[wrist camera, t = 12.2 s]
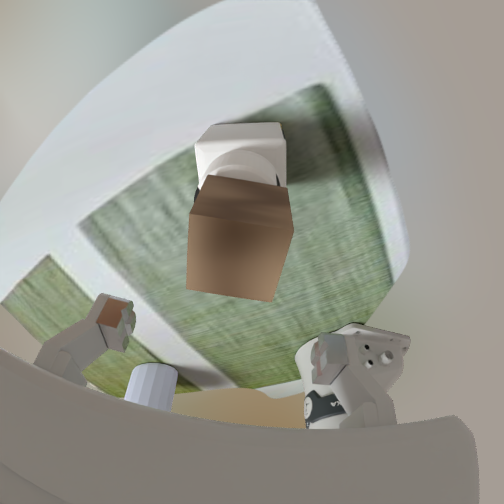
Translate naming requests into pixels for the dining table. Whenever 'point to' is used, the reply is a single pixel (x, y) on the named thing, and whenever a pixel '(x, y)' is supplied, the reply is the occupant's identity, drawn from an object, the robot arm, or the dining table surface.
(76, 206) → the dining table surface
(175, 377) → the soap bottle
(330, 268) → the dining table surface
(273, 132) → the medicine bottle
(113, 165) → the dining table surface
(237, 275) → the walnut cube
